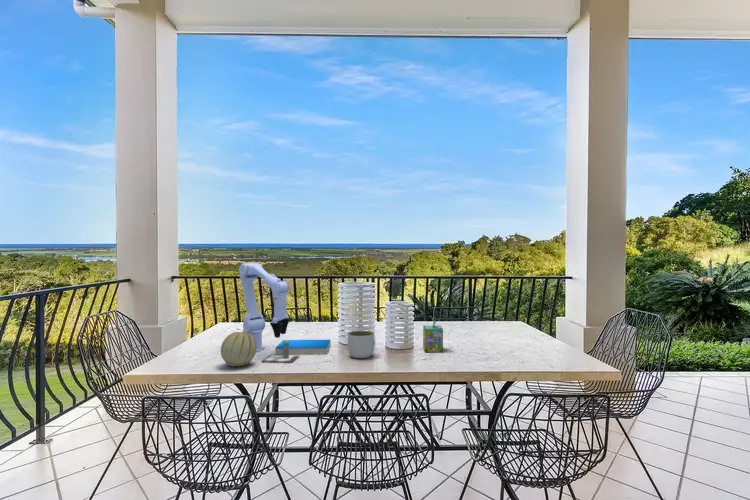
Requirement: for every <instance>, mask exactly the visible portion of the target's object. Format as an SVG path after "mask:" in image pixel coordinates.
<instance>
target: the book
mask: <svg viewBox="0 0 750 500" xmlns="http://www.w3.org/2000/svg"><path fill="white" fill-rule="evenodd" d="M288 340H289V356H299V355H301V356H302V355H328V352H329V350H330V348H331V345H332V344H331V339H288ZM274 349H275V355H283V340H281V342H280V343H279V344H278V345H276V346H275V348H274Z"/></svg>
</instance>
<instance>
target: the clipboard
mask: <svg viewBox="0 0 750 500" xmlns="http://www.w3.org/2000/svg"><path fill="white" fill-rule="evenodd" d="M299 358H300V356H299V355H289V358H288V359H284V358H283V355H276V354H270V355H268V356H267V357H266V358H264V359H263V360H261V363H271V364H272V363H273V364H274V363H276V364H278V363H280V364H293V363H294V362H296V360H297V359H299Z"/></svg>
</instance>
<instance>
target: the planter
mask: <svg viewBox="0 0 750 500" xmlns="http://www.w3.org/2000/svg"><path fill="white" fill-rule="evenodd" d="M374 349H375V332H373V331H370V330H353V331H349V332H348V333H347V350H348V353H349V356H351V357H352V358H354V359H367V358H370V357H372V355H373V353H374V352H375V351H374Z"/></svg>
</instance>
